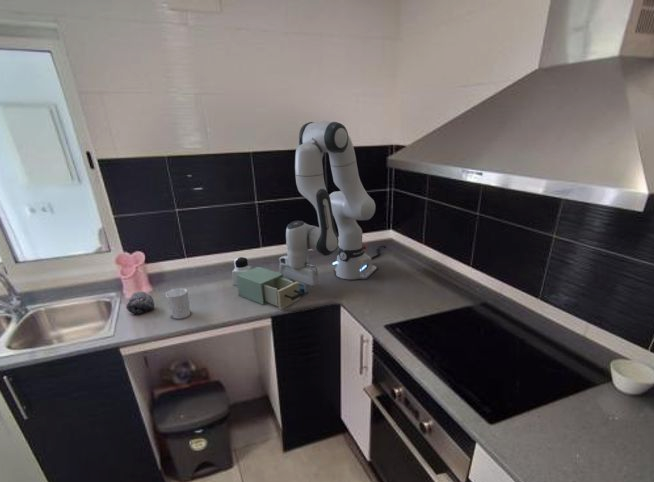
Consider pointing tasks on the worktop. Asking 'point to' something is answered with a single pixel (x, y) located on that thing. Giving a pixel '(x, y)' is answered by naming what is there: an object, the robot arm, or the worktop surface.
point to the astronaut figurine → (240, 268)
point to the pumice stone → (140, 303)
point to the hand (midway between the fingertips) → (300, 290)
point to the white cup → (178, 303)
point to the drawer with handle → (281, 292)
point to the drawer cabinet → (255, 283)
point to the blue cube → (301, 288)
